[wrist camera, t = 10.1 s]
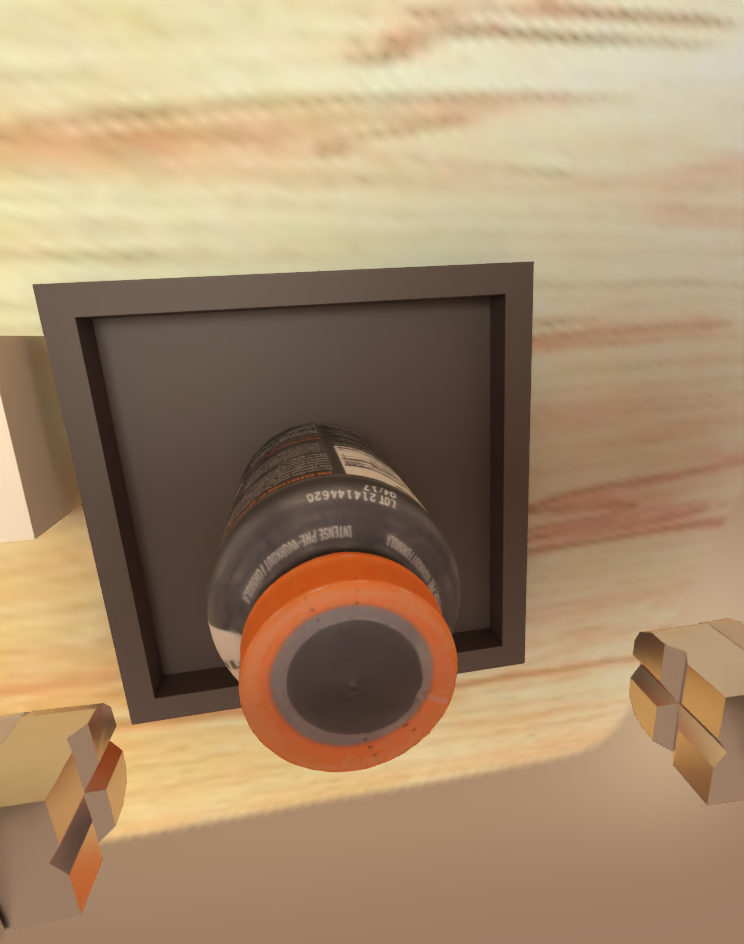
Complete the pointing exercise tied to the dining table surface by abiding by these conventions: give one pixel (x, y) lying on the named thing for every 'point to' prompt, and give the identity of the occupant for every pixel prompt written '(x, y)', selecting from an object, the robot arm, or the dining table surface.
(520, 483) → the tray
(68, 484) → the ceramic block
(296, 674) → the pill bottle
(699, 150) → the dining table surface
